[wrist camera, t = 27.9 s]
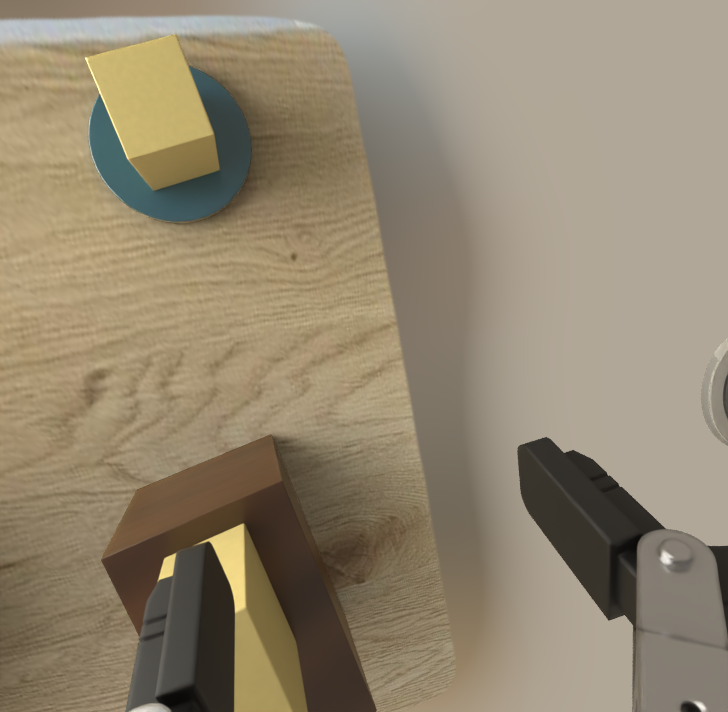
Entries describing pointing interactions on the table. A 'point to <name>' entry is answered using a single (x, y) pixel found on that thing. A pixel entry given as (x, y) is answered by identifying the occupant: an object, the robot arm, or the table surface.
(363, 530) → the table surface
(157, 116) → the butter slice
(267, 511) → the butter stand
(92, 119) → the plate
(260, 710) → the butter block
